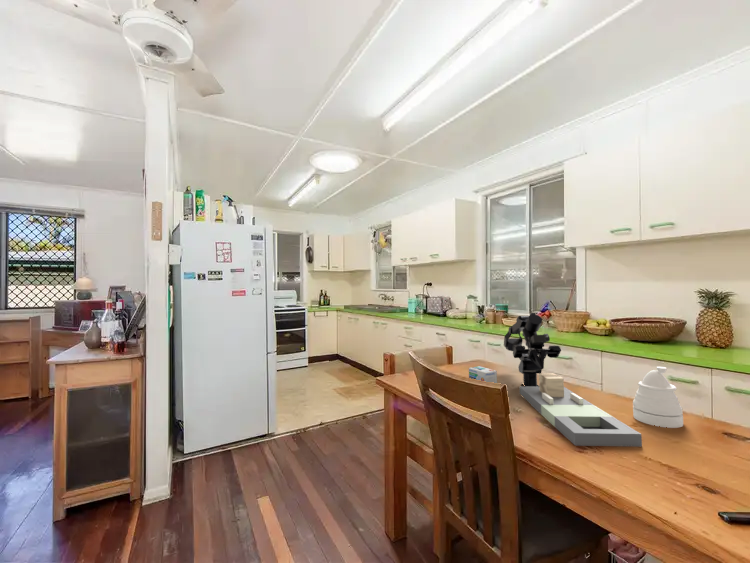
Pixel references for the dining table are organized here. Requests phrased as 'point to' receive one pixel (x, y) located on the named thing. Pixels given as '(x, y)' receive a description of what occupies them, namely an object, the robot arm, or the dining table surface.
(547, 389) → the maple block
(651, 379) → the honey pot
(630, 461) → the dining table surface
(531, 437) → the dining table surface
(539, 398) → the platform
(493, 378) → the light bulb box
